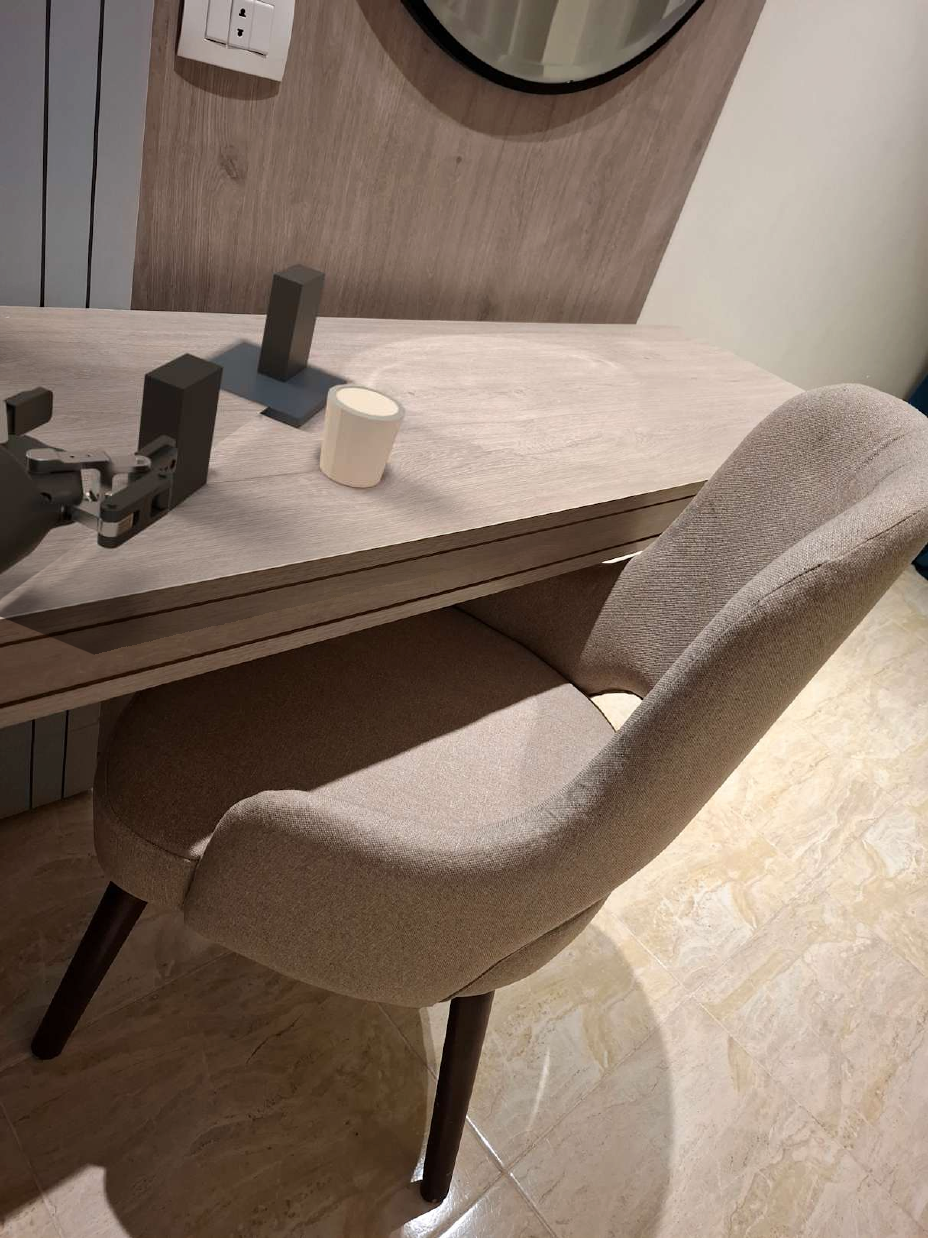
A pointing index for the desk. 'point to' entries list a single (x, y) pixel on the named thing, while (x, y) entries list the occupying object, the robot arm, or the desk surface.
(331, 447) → the shot glass
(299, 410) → the dock
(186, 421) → the block
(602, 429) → the desk surface
